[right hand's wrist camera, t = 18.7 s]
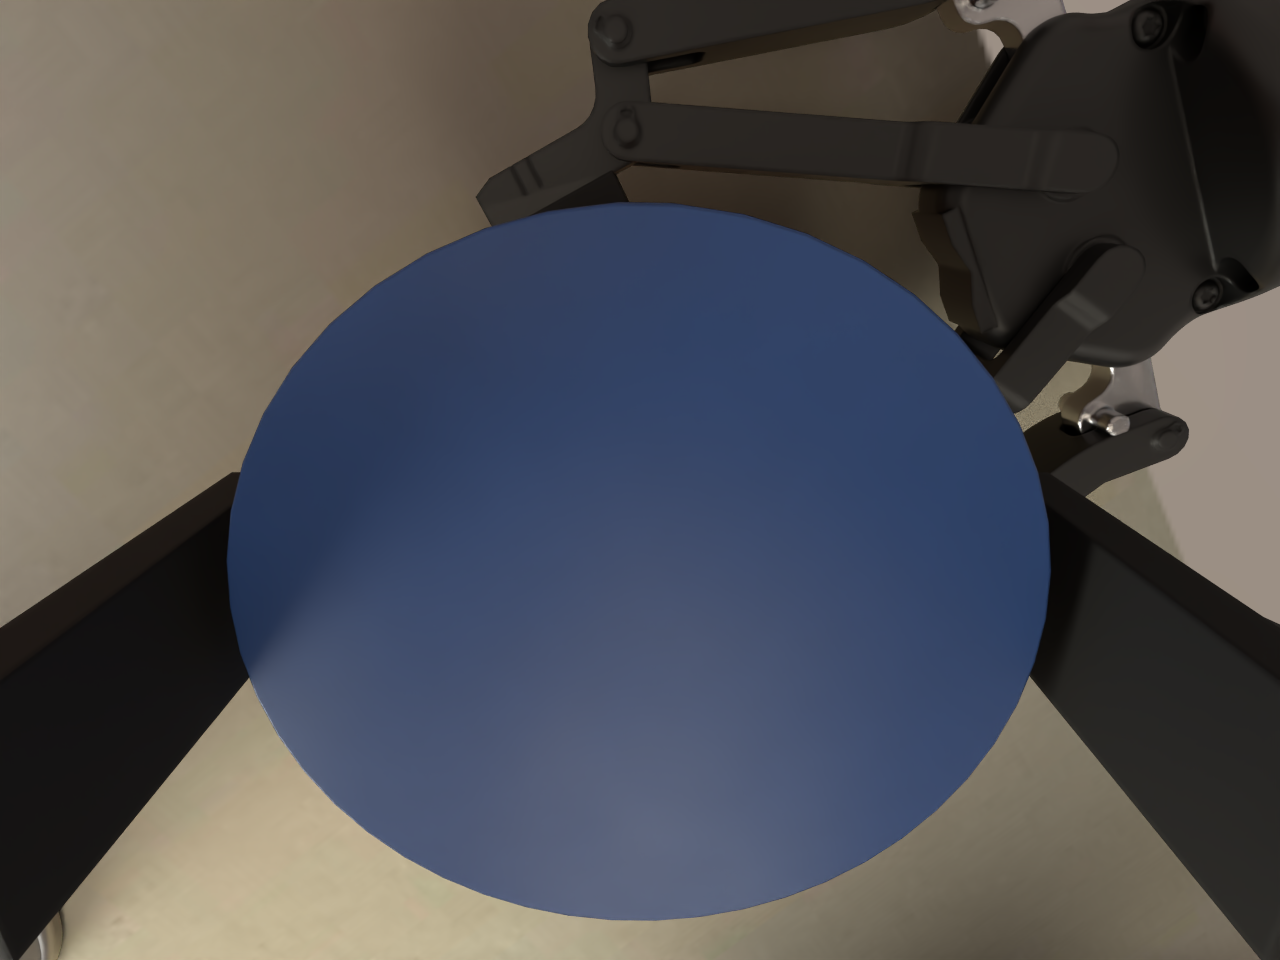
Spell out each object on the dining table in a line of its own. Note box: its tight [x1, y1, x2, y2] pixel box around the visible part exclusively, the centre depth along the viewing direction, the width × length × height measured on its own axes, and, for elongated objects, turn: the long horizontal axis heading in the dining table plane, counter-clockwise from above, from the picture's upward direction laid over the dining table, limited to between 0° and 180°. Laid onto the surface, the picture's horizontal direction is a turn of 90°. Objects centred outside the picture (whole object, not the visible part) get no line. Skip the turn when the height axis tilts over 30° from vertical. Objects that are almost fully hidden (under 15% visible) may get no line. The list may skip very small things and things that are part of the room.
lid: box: [227, 202, 1051, 921], centre depth 11 cm, size 11×11×2 cm
